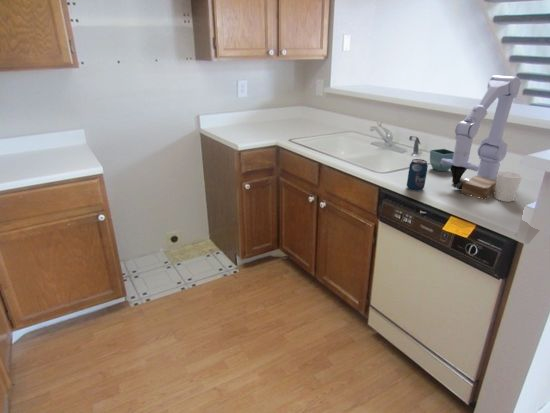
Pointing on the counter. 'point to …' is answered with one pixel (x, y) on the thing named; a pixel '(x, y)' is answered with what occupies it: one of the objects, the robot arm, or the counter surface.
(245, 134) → the counter surface
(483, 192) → the catch block
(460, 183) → the plunger
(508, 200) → the white cup
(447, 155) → the flower pot
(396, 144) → the counter surface
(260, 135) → the counter surface
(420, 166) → the soda can
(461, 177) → the plunger
